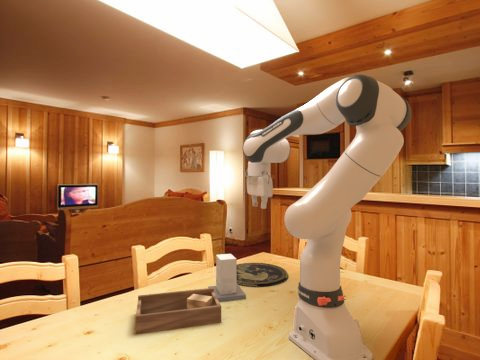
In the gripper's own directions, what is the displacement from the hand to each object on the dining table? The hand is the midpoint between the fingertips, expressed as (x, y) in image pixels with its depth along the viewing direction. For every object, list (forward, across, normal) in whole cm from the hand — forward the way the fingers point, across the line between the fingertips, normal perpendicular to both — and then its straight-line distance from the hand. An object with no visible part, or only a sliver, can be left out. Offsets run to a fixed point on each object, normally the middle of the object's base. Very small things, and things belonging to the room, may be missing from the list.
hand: (259, 207), depth 114 cm
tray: (+33, -13, +32) cm, 48 cm away
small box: (+32, +1, +13) cm, 34 cm away
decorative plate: (+34, +19, -5) cm, 39 cm away
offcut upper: (+30, -13, +25) cm, 42 cm away
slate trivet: (+33, +1, +13) cm, 36 cm away
